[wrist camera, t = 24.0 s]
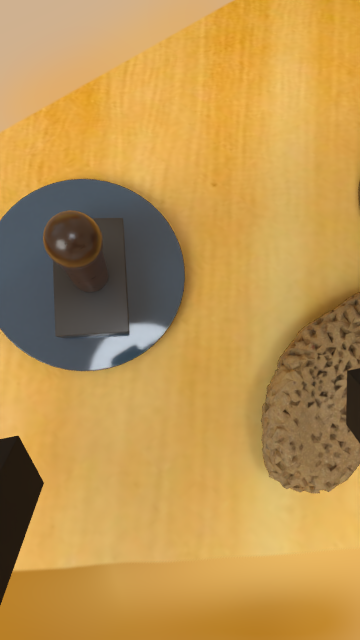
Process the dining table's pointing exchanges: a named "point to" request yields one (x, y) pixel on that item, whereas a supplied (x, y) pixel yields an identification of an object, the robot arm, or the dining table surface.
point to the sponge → (314, 404)
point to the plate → (38, 285)
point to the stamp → (88, 274)
